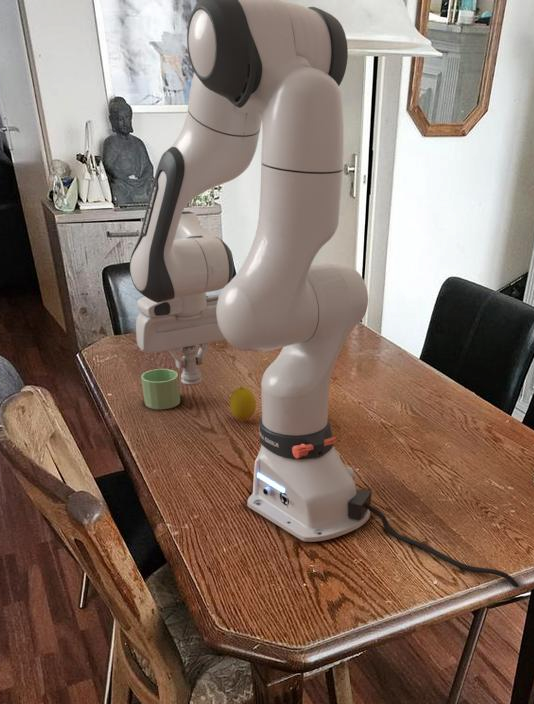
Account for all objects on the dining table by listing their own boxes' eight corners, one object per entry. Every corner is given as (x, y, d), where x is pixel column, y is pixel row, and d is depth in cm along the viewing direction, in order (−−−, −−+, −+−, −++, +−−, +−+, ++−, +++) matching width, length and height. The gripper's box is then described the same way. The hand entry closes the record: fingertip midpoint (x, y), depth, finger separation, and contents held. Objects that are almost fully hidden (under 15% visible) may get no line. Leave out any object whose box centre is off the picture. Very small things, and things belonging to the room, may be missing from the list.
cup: (186, 404, 143) (183, 377, 139) (152, 412, 139) (149, 385, 135) (172, 392, 148) (169, 366, 145) (139, 399, 144) (135, 373, 141)
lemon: (235, 414, 139) (233, 380, 135) (259, 417, 139) (258, 383, 134) (227, 424, 135) (225, 390, 131) (251, 428, 134) (250, 393, 130)
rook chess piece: (191, 388, 131) (187, 350, 127) (176, 382, 133) (172, 346, 129) (207, 381, 134) (204, 345, 130) (192, 376, 136) (189, 340, 132)
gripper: (223, 289, 132) (227, 352, 139) (128, 302, 122) (138, 370, 129) (238, 295, 128) (241, 361, 135) (140, 310, 117) (149, 380, 124)
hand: (190, 365), depth 132 cm, fingers closed on rook chess piece, 3 cm apart
